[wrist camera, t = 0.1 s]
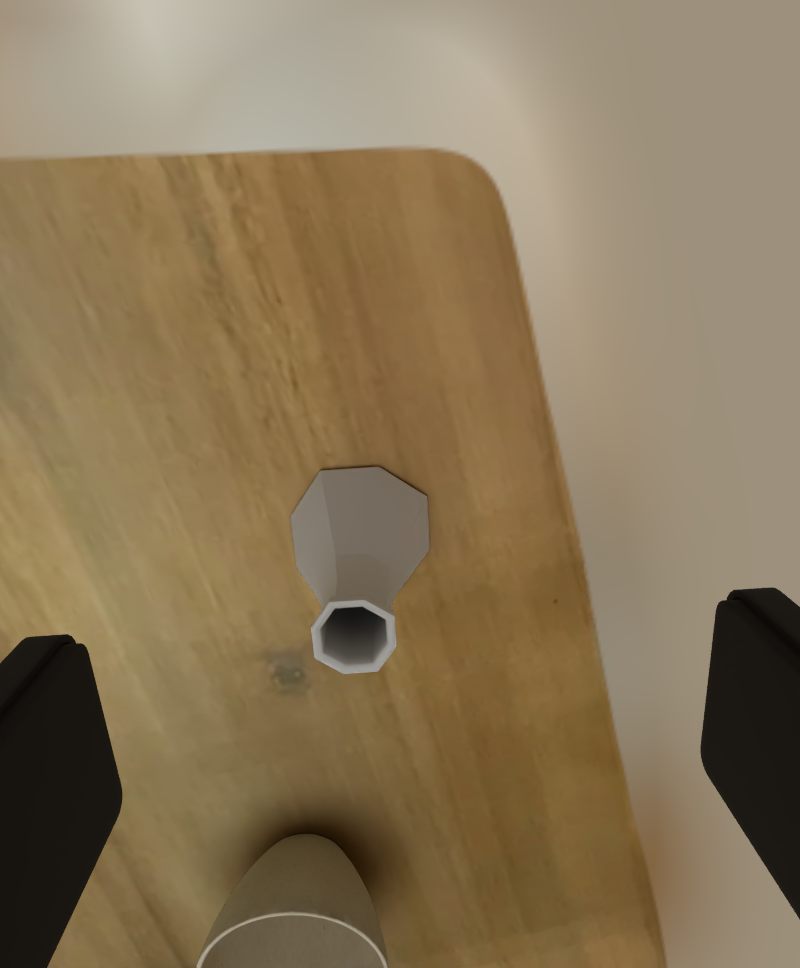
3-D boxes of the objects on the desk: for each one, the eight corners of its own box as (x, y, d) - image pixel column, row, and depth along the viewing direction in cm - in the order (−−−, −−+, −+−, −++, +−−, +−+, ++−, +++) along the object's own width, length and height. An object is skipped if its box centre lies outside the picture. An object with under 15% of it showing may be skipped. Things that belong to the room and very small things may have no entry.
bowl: (298, 945, 42) (283, 1075, 36) (191, 856, 40) (152, 977, 33) (420, 871, 41) (428, 993, 34) (316, 772, 38) (302, 883, 31)
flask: (306, 447, 32) (275, 526, 22) (448, 482, 32) (477, 572, 23) (276, 577, 34) (237, 699, 24) (410, 607, 35) (423, 736, 25)
